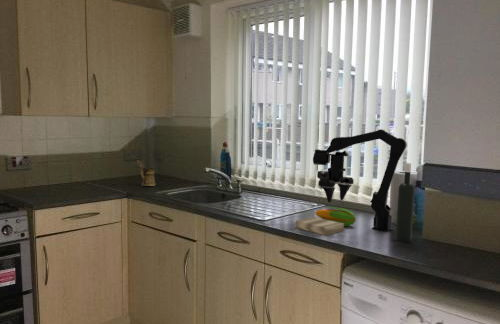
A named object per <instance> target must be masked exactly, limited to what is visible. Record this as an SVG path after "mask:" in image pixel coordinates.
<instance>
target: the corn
mask: <svg viewBox="0 0 500 324" xmlns="http://www.w3.org/2000/svg"><path fill="white" fill-rule="evenodd" d="M327 208H328V209H326V208H325V209H319V210H316V211H315V215H316V216H317V218H321V219H325V220H330V221H334V222H339V223H343V224H344V228H345V227H348V226H351V225H354V224H355V222H356V216H355V214H354V213H353V212H352V211H351V210H349V209H346V208H343V207H337V206H336V207H333V206H327Z"/></svg>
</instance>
